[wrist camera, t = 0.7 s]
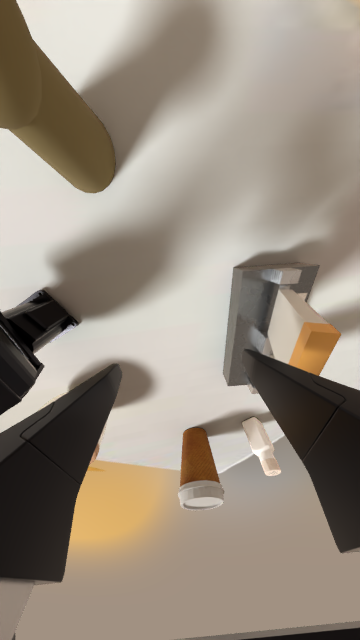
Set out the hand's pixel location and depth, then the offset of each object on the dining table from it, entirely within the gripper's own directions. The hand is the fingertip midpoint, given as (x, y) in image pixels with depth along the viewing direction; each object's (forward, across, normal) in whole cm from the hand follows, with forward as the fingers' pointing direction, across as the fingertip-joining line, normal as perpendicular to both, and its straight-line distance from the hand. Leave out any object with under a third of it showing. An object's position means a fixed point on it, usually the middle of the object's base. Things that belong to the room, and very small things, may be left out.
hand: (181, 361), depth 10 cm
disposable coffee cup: (+13, 0, -39) cm, 41 cm away
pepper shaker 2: (+13, +15, -35) cm, 41 cm away
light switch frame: (+13, +12, -7) cm, 19 cm away
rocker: (+8, +12, -2) cm, 15 cm away
